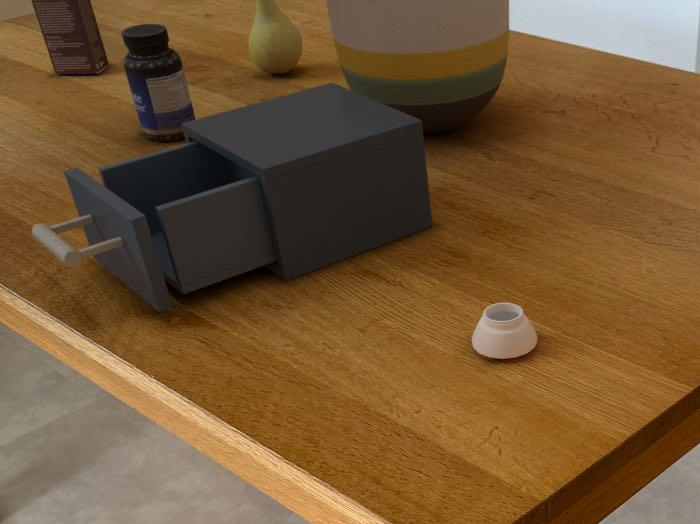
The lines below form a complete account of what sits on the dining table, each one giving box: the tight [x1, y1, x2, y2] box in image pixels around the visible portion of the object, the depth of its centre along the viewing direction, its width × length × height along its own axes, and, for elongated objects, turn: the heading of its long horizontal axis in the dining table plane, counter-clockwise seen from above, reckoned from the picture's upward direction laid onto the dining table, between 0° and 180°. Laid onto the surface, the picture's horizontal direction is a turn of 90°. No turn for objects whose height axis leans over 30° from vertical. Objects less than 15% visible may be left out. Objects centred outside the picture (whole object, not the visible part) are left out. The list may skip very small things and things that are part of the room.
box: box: [30, 0, 110, 75], centre depth 131 cm, size 6×4×12 cm
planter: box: [325, 0, 510, 134], centre depth 109 cm, size 20×20×21 cm
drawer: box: [31, 140, 278, 313], centre depth 86 cm, size 20×14×8 cm
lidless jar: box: [471, 302, 538, 360], centre depth 77 cm, size 5×3×5 cm
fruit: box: [248, 0, 303, 75], centre depth 127 cm, size 7×8×12 cm
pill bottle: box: [121, 23, 197, 143], centre depth 112 cm, size 6×6×11 cm
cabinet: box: [181, 82, 433, 281], centre depth 92 cm, size 16×15×10 cm
